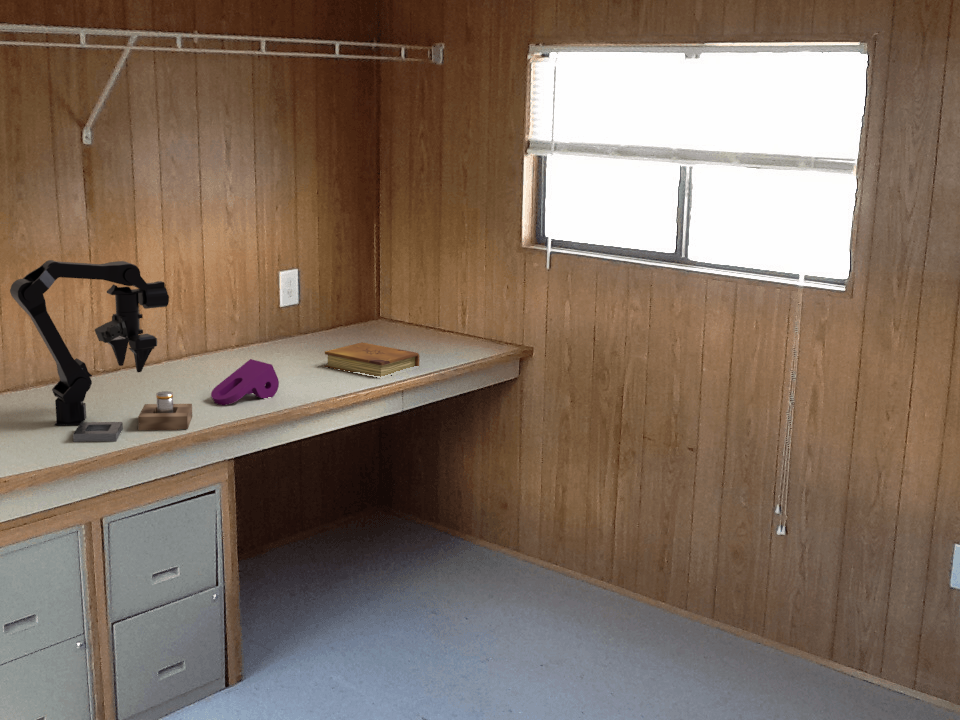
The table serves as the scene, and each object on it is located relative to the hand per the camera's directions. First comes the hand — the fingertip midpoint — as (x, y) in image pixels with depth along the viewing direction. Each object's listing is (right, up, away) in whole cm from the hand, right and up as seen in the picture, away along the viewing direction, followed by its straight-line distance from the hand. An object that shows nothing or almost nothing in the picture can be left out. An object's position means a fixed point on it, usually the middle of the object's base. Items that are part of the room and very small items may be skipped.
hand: (130, 368), depth 297 cm
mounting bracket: (+25, -9, +20) cm, 33 cm away
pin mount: (-2, -16, -17) cm, 24 cm away
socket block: (+11, -14, -5) cm, 19 cm away
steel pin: (+11, -14, -5) cm, 19 cm away
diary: (+58, -1, +60) cm, 83 cm away
